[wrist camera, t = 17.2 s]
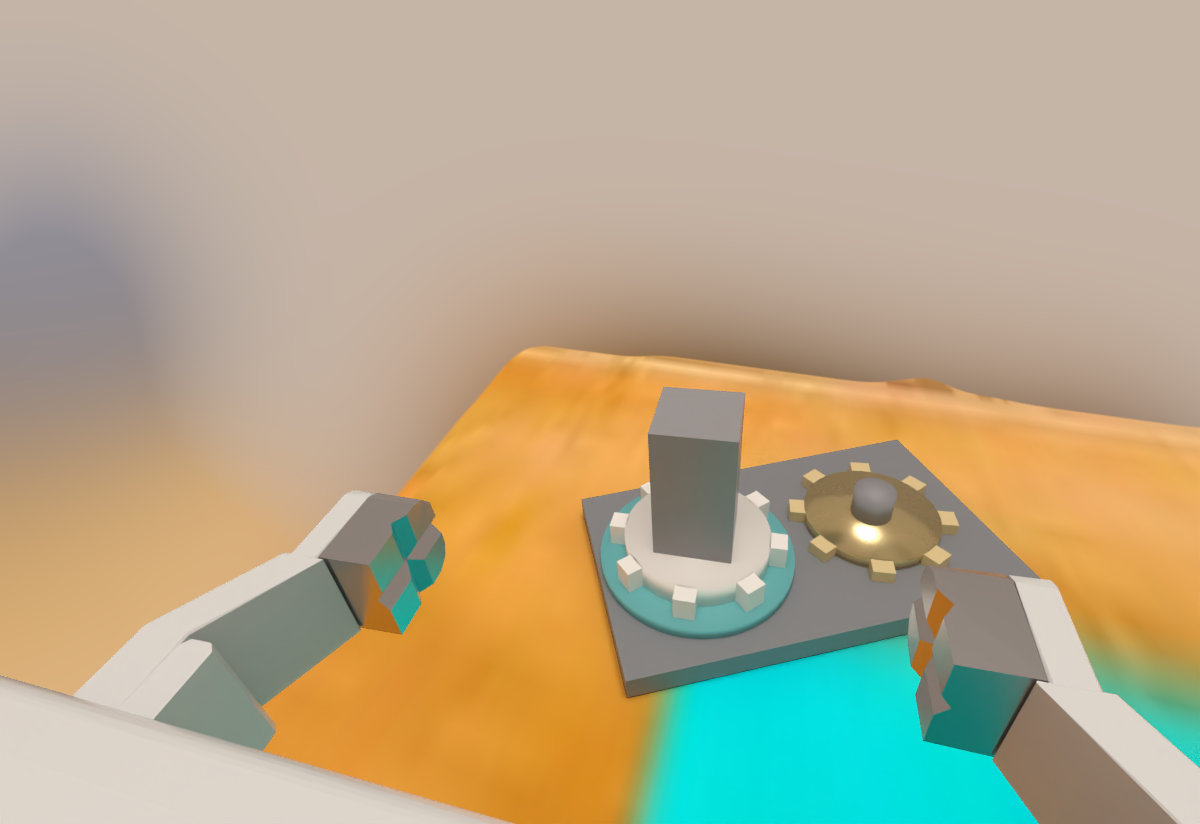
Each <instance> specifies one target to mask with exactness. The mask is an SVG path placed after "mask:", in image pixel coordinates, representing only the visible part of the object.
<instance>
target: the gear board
mask: <svg viewBox="0 0 1200 824" xmlns="http://www.w3.org/2000/svg"><path fill="white" fill-rule="evenodd" d="M755 491H758V492H759V493H760V494H761V495H763V496H764V497H765V498H766V499H768V500H769V501H770V505H769V514H768V519H767V521H768V523H769V526H770V530H771V533H778V534H786V535H788V552H787V559H786V566H785V568H781V567H774V566H768V568H767V571H766V573H765V575H764V577H763V579H762V581H763V582H764V583H765V584H766V586H765V595H764V602H763V603H762V604H760V605H758V606H757V607H755V608H753V609H752V610H750V611H748V612H746V611H745V610H744V609H743V608H742V607H741V606H740V605H739V604H738V603H737V602H736V601H732V602H729V603H726V604H721V605H717V606H707V607H697V610H696V616H695V621H692V620H687V619H681V618H675V617H673V612H672V602H671V601H668V600H666V599H664V598H661V597H659V596H657V595H656V594H654V593H653V592H651V591H649V590H648V589H647V588H646V587H644V586H641V587H640V588H638V589H636V590H634V591H632V592H630V593H629V592H628V591H627V589H626V588H625V587H624V585H623V584H622V583H621V582H620V580H619V579H618V569H617V561H619V560H621V559H623V558H625V557H626V547H625V545H622V544H615V543H611V534H610V523H611V520H612V517H613V515H614V512H618V513H625V514H629V513H630V512H631V510H632V509H633V507H634V506H635V505H636V504H637V503H638V502H639V501H640V500H641V489H634V490H629V491H624V492H618V493H613V494H608V495H603V496H597V497H592V498H587V499H582V506H583V514H584V519H585V523H586V527H587V531H588V535H589V540H590V544H591V548H592V552H593V556H594V561H595V565H596V569H597V573H598V577H599V582H600V586H601V590H602V594H603V598H604V603H605V607H606V611H607V615H608V619H609V624H610V628H611V632H612V636H613V640H614V645H615V649H616V653H617V657H618V662H619V666H620V670H621V674H622V678H623V683H624V687H625V691H626V695H627V698H629V697H633V696H638V695H642V694H646V693H651V692H655V691H659V690H664V689H668V688H673V687H677V686H681V685H686V684H690V683H694V682H699V681H703V680H708V679H712V678H716V677H721V676H725V675H729V674H734V673H738V672H743V671H747V670H751V669H756V668H760V667H764V666H769V665H773V664H778V663H782V662H786V661H791V660H795V659H799V658H804V657H808V656H813V655H817V654H821V653H826V652H830V651H834V650H839V649H843V648H848V647H852V646H856V645H861V644H865V643H869V642H874V641H878V640H883V639H887V638H891V637H896V636H900V635H904V634H908V627H909V617H910V613H911V609H912V605H913V602H914V601H916V600H918V599H920V598H921V597H922V593H921V588H920V579H921V576H922V573H923V570H924V569H925V568H926V567H927V565H931V566H939V567H948V568H956V569H964V570H973V571H981V572H989V573H998V574H1004V575H1006V576H1007V575H1012V576H1020V577H1028V578H1036V579H1040V578H1039V577H1038V576H1037V575H1036V574H1035V573H1034V572H1033V571H1032V570H1031V569H1030V568H1029V567H1028V566H1027V565H1026V564H1025V563H1024V562H1023V561H1022V560H1021V559H1020V558H1019V557H1018V556H1016V555H1015V554H1014V553H1013V552H1012V551H1011V550H1010V549H1009V548H1008V547H1007V546H1006V545H1005V544H1004V543H1003V542H1002V541H1001V540H1000V539H999V538H998V537H997V536H996V535H995V534H994V533H993V532H992V531H991V530H990V529H989V528H988V527H987V526H986V525H985V524H984V523H982V522H981V521H980V520H979V519H978V518H977V517H976V516H975V515H974V514H973V513H972V512H971V511H970V510H969V509H968V508H967V507H966V506H965V505H964V504H963V503H962V502H961V501H960V500H959V499H958V498H957V497H956V496H955V495H954V494H953V493H952V492H951V491H950V490H948V489H947V488H946V487H945V486H944V485H943V484H942V483H941V482H940V481H939V480H938V479H937V478H936V477H935V476H934V475H933V474H932V473H931V472H930V471H929V470H928V469H927V468H926V467H925V466H924V465H923V464H922V463H921V462H920V461H919V460H918V459H917V458H916V457H915V456H913V455H912V454H911V453H910V452H909V451H908V450H907V449H906V448H905V447H904V446H903V445H902V444H901V443H900V442H899V441H898V440H893V441H888V442H882V443H877V444H872V445H867V446H861V447H856V448H851V449H845V450H840V451H835V452H830V453H824V454H819V455H814V456H809V457H803V458H798V459H793V460H787V461H782V462H777V463H772V464H766V465H761V466H756V467H750V468H745V469H740V476H739V491H738V493H740V494H742V495H743V496H747V495H749V494H751V493H753V492H755Z"/></svg>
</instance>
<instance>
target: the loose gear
mask: <svg viewBox="0 0 1200 824" xmlns="http://www.w3.org/2000/svg"><path fill="white" fill-rule="evenodd" d="M744 403H745V393H741V392H727V391H713V390H699V389H685V388H672V387H663V390H662V393H661V396H660V399H659V402H658V405H657V408H656V411H655V414H654V417H653V420H652V423H651V426H650V429H649V432H648V444H649V468H650V482H648V483H646V484H644V485H642V486H640V489H641V500H640V501H639V502H638V503H637V504H636V505H635V506H634V507H633V509H632V510H631V512H630V513H629V514H625V513H618V512H614V515H613V517H612V520H611V523H610V534H611V543H615V544H622V545H625V547H626V557H625V558H623V559H621V560H619V561H617V569H618V579H619V580H620V582H621V583H622V584H623V585H624V587H625V588H626V589H627V591H628V592H629V593H630V592H632V591H634V590H636V589H638V588H640V587H641V586H644V587H646V588H647V589H648V590H649V591H651V592H653V593H654V594H656V595H657V596H659V597H661V598H664V599H666V600H668V601H671V602H672V612H673V617H675V618H681V619H687V620H692V621H695V616H696V610H697V607H707V606H717V605H721V604H726V603H729V602H732V601H736V602H737V603H738V604H739V605H740V606H741V607H742V608H743V609H744V610H745V611H746V612H748V611H750V610H752V609H753V608H755V607H757V606H758V605H760V604H762V603H763V602H764V595H765V586H766V584H765V583H764V582H763V581H762V579H763V577H764V575H765V573H766V571H767V568H768V566H774V567H781V568H785V566H786V559H787V552H788V535H786V534H778V533H771V530H770V526H769V523H768V521H767V519H768V514H769V505H770V501H769V500H768V499H766V498H765V497H764V496H763V495H761V494H760V493H759V492H758V491H755V492H753V493H751V494H749V495H747V496H743V495H742V494H740V493H738V491H739V476H740V462H741V447H742V432H743V418H744Z"/></svg>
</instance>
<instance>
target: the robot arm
mask: <svg viewBox="0 0 1200 824" xmlns="http://www.w3.org/2000/svg"><path fill="white" fill-rule="evenodd" d="M434 517H435V514H434V511H433V509H432V507H431V504H430V502H426V501H423V500H418V499H411V498H405V497H399V496H392V495H386V494H380V493H371V492H365V491H358V490H353V491H351V492H349V493H347V494H345V495H344V496H343V497H342V498H341V499H340V500H339V502H338V503H337V504H336V505H335V506H334V507H333V508H332V509H331V510H330V512H329V513H328V514H327V515H326V516H325V517H324V518H323V519H322V521H321V522H320V523H319V524H318V525H317V526H316V527H315V528H314V529H313V530H312V532H311V533H310V534H309V535H308V536H307V537H306V538H305V539H304V541H303V542H302V543H301V544H300V545H299V546H298V547H297V548H296V549H295V550H294V552H293V553H292V554H290V553H283V554H281V555H279V556H277V557H275V558H274V559H272V560H270V561H268V562H266V563H264V564H262V565H260V566H258V567H256V568H254V569H252V570H250V571H248V572H246V573H245V574H243V575H241V576H239V577H237V578H235V579H233V580H231V581H229V582H227V583H225V584H223V585H221V586H219V587H217V588H216V589H214V590H212V591H210V592H208V593H206V594H204V595H202V596H200V597H198V598H196V599H194V600H192V601H190V602H188V603H187V604H185V605H183V606H181V607H179V608H177V609H175V610H173V611H171V612H169V613H167V614H165V615H163V616H162V617H159V618H158V619H156V620H154V621H152V622H150V623H148V624H146V625H144V626H143V627H142V628H141V629H140V631H138V632H137V633H136V634H135V635H134V636H133V637H132V638H131V639H130V640H129V641H128V642H127V643H126V644H125V645H124V646H123V647H122V648H121V649H120V650H119V651H118V652H117V653H116V654H115V655H114V656H113V657H112V658H111V659H110V660H109V661H108V662H107V663H106V664H105V665H104V666H103V667H101V668H100V669H99V670H98V671H97V672H96V673H95V674H94V675H93V677H91V678H90V679H89V680H88V681H87V682H86V683H85V684H84V685H83V686H82V687H81V688H80V689H79V690H78V691H77V692H76V693H75V694H74V695H73V696H70V695H67V694H63V693H60V692H56V691H53V690H49V689H46V688H42V687H39V686H35V685H32V684H28V683H25V682H21V681H17V680H14V679H11V678H7V677H4V676H0V824H515V823H511V822H508V821H504V820H501V819H497V818H494V817H490V816H487V815H483V814H480V813H476V812H473V811H470V810H466V809H463V808H459V807H456V806H452V805H449V804H445V803H442V802H438V801H435V800H431V799H428V798H424V797H421V796H418V795H414V794H411V793H407V792H404V791H400V790H397V789H393V788H390V787H386V786H383V785H379V784H376V783H372V782H369V781H365V780H362V779H358V778H355V777H352V776H348V775H345V774H341V773H338V772H334V771H331V770H327V769H324V768H320V767H317V766H313V765H310V764H306V763H303V762H299V761H296V760H292V759H289V758H286V757H282V756H279V755H275V754H272V753H268V752H265V751H263V750H264V748H265V747H266V745H267V744H268V743H269V741H270V740H271V738H272V737H273V735H274V734H275V732H276V730H275V723H274V722H273V720H272V719H271V718H270V717H269V715H268V714H267V713H266V712H265V710H264V709H263V708H262V706H263V705H264V704H265V703H267V702H268V701H269V700H271V699H272V698H273V697H275V696H276V695H277V694H278V693H280V692H281V691H282V690H284V689H285V688H286V687H288V686H289V685H290V684H291V683H293V682H294V681H295V680H297V679H298V678H299V677H301V676H302V675H303V674H304V673H306V672H307V671H308V670H310V669H311V668H312V667H314V666H315V665H316V664H318V663H319V662H320V661H321V660H323V659H324V658H325V657H327V656H328V655H329V654H331V653H332V652H333V651H334V650H336V649H337V648H338V647H340V646H341V645H342V644H344V643H345V642H346V641H347V640H349V639H350V638H351V637H353V636H354V635H355V634H357V633H358V632H359V631H360V630H361V629H360V628H366V629H372V630H378V631H384V632H390V633H395V634H401V635H402V634H403V632H404V631H405V629H406V628H407V626H408V624H409V623H410V621H411V619H412V618H413V616H414V615H415V613H416V611H417V610H418V608H419V606H420V605H421V596H420V592H421V591H422V590H424V589H426V588H427V587H429V586H430V585H432V584H433V583H434V582H435V580H436V578H437V577H438V575H439V573H440V572H441V569H442V566H443V562H444V558H445V542H444V539H443V536H442V533H441V532H440V531H439V530H438V529H437V528H436V527H434V526H433V525H432V524H431V522H432V521H433V519H434ZM920 588H921V593H922V597H921V598H920V599H918V600H916V601H914V602H913V605H912V609H911V613H910V617H909V627H908V647H909V656H910V663H911V667H912V668H913V669H914V670H915V671H916V672H917V674H918V675H919V676H920V677H921V681H920V683H919V686H918V689H917V692H916V701H917V707H918V713H919V719H920V725H921V731H922V737H923V741H926V742H930V743H935V744H939V745H943V746H948V747H952V748H957V749H961V750H965V751H970V752H974V753H978V754H983V755H987V756H992V757H994V758H993V762H994V763H995V764H996V766H997V767H998V768H999V770H1000V771H1001V772H1002V774H1003V775H1004V777H1005V778H1006V779H1007V781H1008V782H1009V783H1010V785H1011V786H1012V787H1013V789H1014V790H1015V792H1016V793H1017V794H1018V796H1019V797H1020V798H1021V800H1022V801H1023V802H1024V804H1025V805H1026V807H1027V808H1028V809H1029V811H1030V812H1031V813H1032V815H1033V816H1034V817H1035V819H1036V820H1037V822H1038V823H1039V824H1200V768H1199V767H1198V766H1196V765H1195V764H1194V763H1193V762H1192V761H1191V760H1190V759H1189V758H1187V757H1186V756H1185V755H1184V754H1183V753H1182V752H1181V751H1180V750H1178V749H1177V748H1176V747H1175V746H1174V745H1173V744H1172V743H1171V742H1169V741H1168V740H1167V739H1166V738H1165V737H1164V736H1163V735H1162V734H1160V733H1159V732H1158V731H1157V730H1156V729H1155V728H1154V727H1153V726H1151V725H1150V724H1149V723H1148V722H1147V721H1146V720H1145V719H1144V718H1142V717H1141V716H1140V715H1139V714H1138V713H1137V712H1136V711H1135V710H1133V709H1132V708H1131V707H1130V706H1129V705H1128V704H1127V703H1126V702H1124V701H1123V700H1122V699H1121V698H1120V697H1119V696H1118V695H1115V694H1110V693H1105V692H1102V689H1101V687H1100V685H1099V682H1098V680H1097V678H1096V675H1095V673H1094V671H1093V668H1092V666H1091V664H1090V661H1089V659H1088V657H1087V654H1086V652H1085V650H1084V647H1083V645H1082V643H1081V640H1080V638H1079V636H1078V633H1077V631H1076V629H1075V626H1074V624H1073V622H1072V619H1071V617H1070V615H1069V612H1068V610H1067V608H1066V605H1065V603H1064V601H1063V598H1062V596H1061V594H1060V591H1059V589H1058V587H1057V586H1056V585H1055V584H1054V583H1053V582H1052V581H1051V580H1044V579H1036V578H1028V577H1020V576H1012V575H1007V576H1006V575H1004V574H998V573H989V572H981V571H973V570H964V569H956V568H948V567H939V566H931V565H927V567H926V568H925V569H924V570H923V573H922V576H921V579H920Z"/></svg>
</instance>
